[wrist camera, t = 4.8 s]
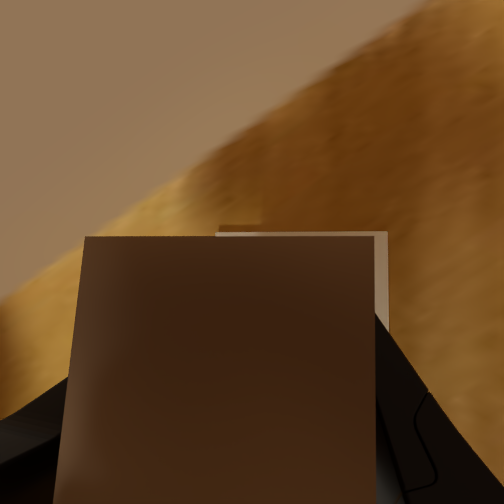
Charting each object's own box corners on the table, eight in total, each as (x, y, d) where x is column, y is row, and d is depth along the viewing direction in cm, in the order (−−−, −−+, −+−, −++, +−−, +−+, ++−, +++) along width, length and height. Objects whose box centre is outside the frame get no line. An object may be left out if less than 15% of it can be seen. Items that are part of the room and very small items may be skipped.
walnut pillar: (338, 370, 15) (377, 655, 3) (247, 359, 16) (49, 534, 5) (338, 275, 15) (374, 236, 4) (251, 273, 17) (84, 236, 5)
